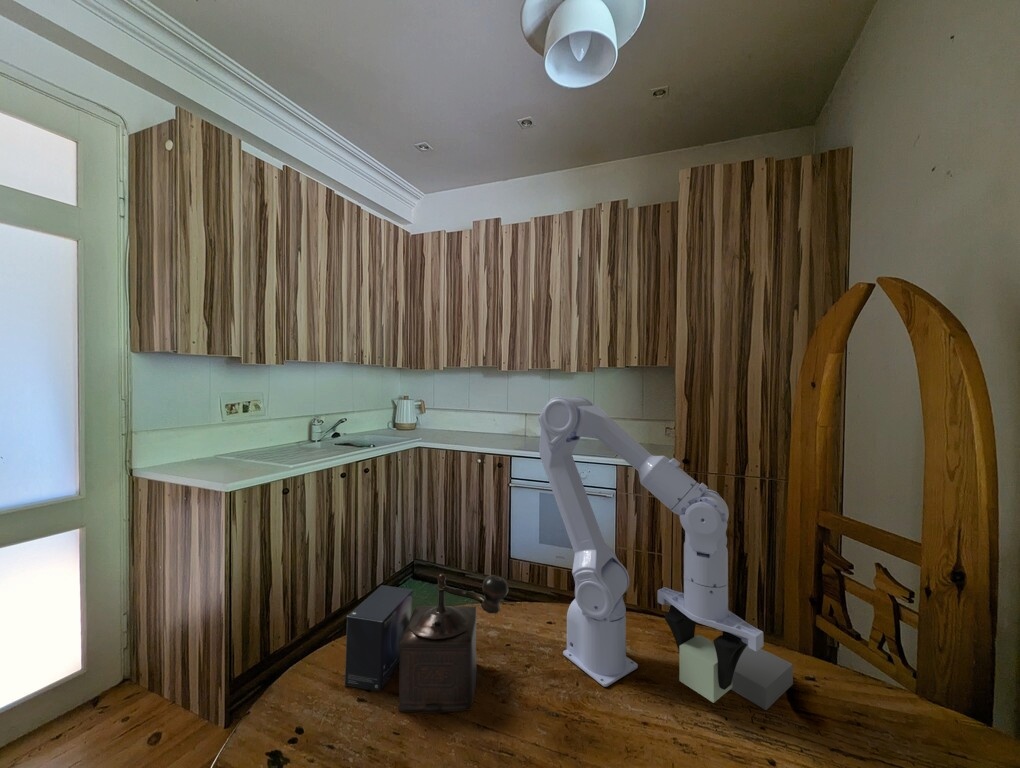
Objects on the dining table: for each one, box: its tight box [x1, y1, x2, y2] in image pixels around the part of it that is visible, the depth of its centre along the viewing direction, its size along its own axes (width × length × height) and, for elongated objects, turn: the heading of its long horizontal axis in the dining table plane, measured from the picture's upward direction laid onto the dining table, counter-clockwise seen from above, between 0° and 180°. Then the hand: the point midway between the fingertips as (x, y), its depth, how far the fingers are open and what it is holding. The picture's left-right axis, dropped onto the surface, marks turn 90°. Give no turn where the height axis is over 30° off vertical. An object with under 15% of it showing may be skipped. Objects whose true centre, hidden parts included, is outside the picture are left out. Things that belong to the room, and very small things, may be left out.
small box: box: [344, 584, 413, 692], centre depth 65 cm, size 11×6×10 cm, turn 168°
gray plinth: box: [730, 645, 794, 711], centre depth 62 cm, size 9×9×3 cm
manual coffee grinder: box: [398, 573, 509, 714], centre depth 60 cm, size 16×11×18 cm
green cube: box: [678, 634, 732, 704], centre depth 57 cm, size 5×5×5 cm
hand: (705, 673), depth 57 cm, fingers closed on green cube, 5 cm apart
